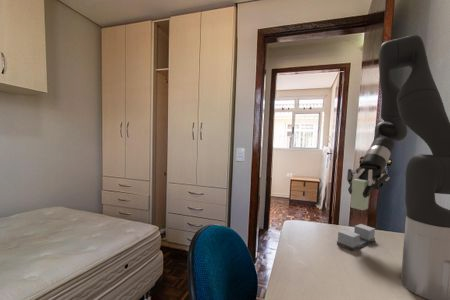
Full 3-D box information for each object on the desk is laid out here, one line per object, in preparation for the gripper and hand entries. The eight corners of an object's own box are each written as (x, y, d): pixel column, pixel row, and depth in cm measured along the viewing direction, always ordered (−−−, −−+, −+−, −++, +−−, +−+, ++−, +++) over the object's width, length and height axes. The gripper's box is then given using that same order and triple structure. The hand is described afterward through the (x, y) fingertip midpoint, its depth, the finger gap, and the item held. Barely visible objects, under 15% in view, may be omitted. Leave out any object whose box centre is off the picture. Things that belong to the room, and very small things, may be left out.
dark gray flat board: (374, 240, 81) (375, 238, 81) (353, 251, 72) (353, 248, 72) (358, 235, 85) (359, 232, 85) (336, 244, 76) (336, 241, 76)
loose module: (367, 208, 78) (369, 180, 77) (362, 210, 75) (364, 181, 75) (355, 205, 81) (357, 178, 80) (350, 207, 79) (352, 179, 78)
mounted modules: (374, 237, 81) (375, 228, 81) (352, 247, 72) (353, 237, 72) (359, 232, 85) (360, 223, 85) (337, 241, 76) (338, 231, 76)
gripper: (352, 151, 87) (333, 183, 81) (395, 154, 75) (377, 192, 69) (358, 164, 90) (340, 196, 84) (400, 169, 79) (383, 206, 72)
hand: (357, 194), depth 77 cm, fingers closed on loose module, 4 cm apart
